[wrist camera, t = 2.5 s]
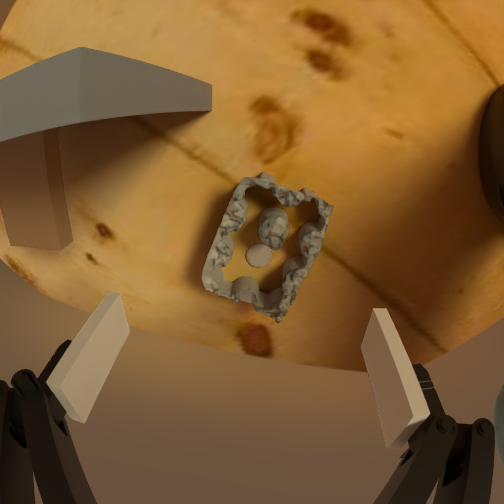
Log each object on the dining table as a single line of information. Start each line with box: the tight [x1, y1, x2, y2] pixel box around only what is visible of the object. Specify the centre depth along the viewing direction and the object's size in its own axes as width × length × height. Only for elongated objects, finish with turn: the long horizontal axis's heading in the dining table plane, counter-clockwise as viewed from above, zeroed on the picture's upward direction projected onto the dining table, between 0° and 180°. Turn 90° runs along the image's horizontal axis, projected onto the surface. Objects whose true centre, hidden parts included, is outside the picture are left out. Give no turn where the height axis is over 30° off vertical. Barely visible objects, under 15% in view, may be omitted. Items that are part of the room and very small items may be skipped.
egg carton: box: [202, 172, 333, 323], centre depth 23 cm, size 11×8×4 cm
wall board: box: [0, 47, 212, 250], centre depth 15 cm, size 24×10×16 cm, turn 88°
